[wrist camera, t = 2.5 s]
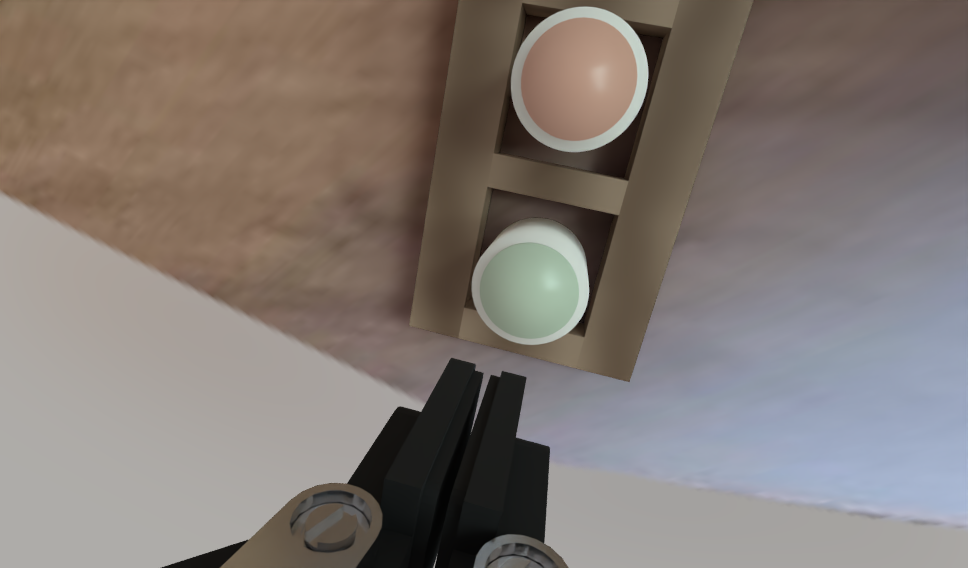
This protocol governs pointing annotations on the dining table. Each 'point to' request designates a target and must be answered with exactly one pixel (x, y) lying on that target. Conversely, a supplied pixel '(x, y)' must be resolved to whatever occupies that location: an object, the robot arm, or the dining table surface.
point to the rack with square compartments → (572, 171)
